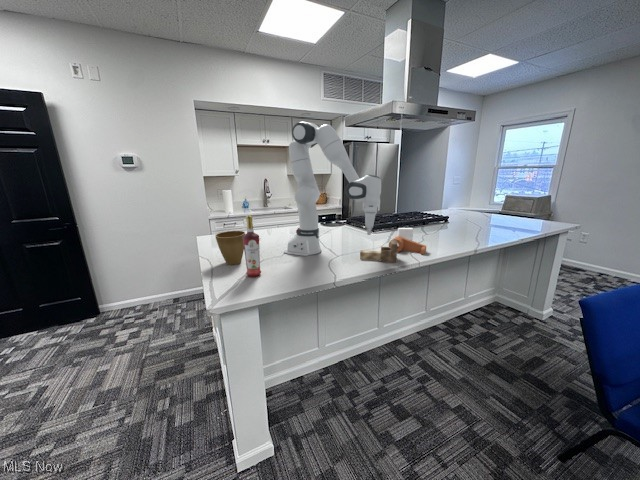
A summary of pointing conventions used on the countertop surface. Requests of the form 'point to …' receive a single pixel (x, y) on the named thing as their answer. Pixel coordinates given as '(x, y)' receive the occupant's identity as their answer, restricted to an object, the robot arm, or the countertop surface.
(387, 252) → the wooden u-shaped bracket
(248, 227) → the liquor
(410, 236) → the white piece
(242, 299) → the countertop surface
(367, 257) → the rail
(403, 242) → the crank
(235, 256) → the plant pot
